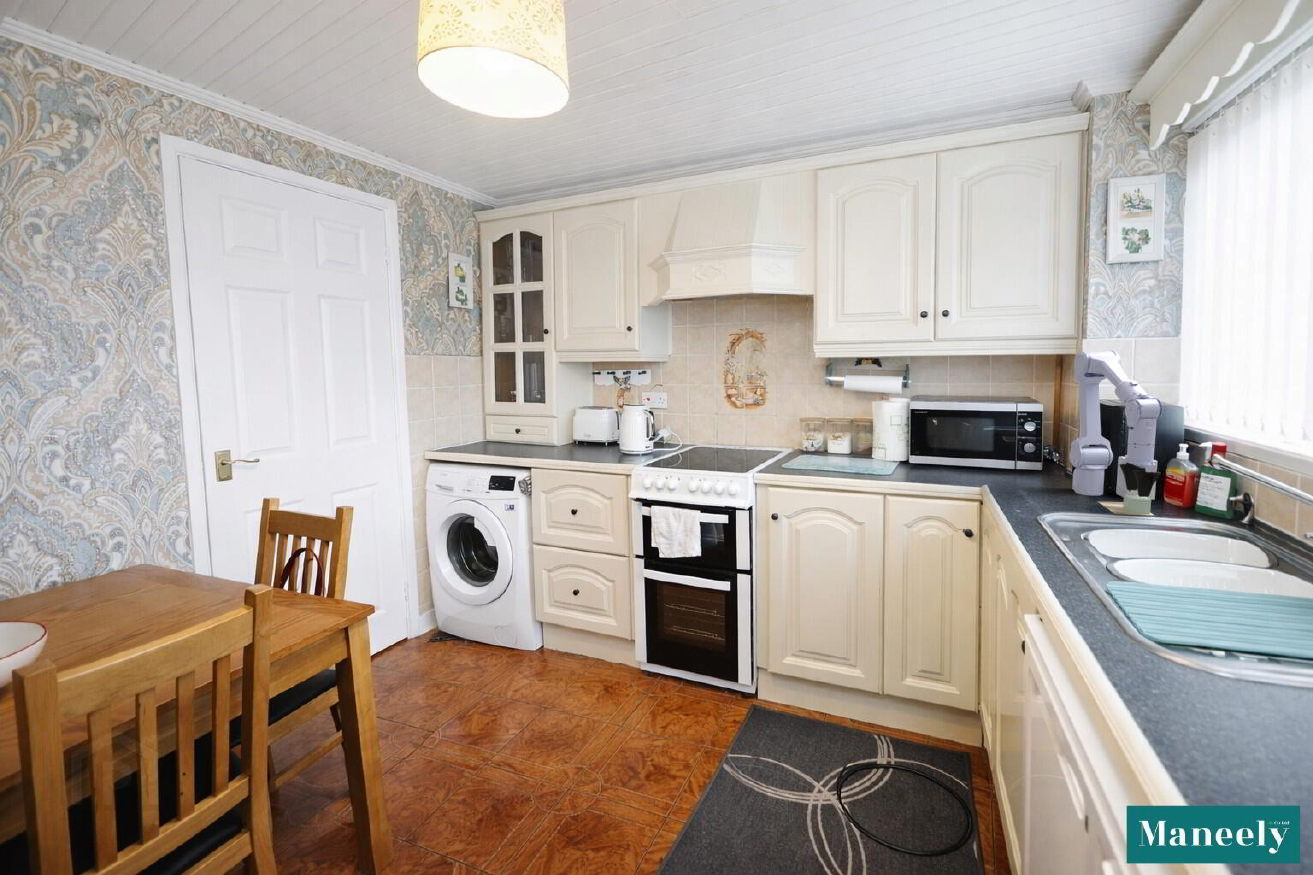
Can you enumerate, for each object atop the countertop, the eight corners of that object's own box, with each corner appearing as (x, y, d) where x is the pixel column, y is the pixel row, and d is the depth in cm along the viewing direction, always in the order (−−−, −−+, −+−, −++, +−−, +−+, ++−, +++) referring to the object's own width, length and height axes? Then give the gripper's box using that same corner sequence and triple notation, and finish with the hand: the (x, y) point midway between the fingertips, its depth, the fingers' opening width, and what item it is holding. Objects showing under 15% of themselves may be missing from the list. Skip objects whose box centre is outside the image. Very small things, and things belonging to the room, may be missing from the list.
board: (1097, 505, 184) (1097, 501, 184) (1133, 506, 182) (1134, 502, 181) (1114, 518, 171) (1115, 513, 171) (1154, 519, 168) (1155, 515, 168)
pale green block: (1123, 509, 175) (1124, 494, 175) (1143, 509, 174) (1144, 495, 173) (1129, 513, 171) (1130, 498, 171) (1150, 514, 170) (1151, 499, 169)
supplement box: (1125, 502, 186) (1128, 460, 184) (1115, 496, 193) (1118, 456, 191) (1155, 503, 184) (1158, 460, 182) (1143, 497, 191) (1146, 456, 189)
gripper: (1113, 439, 178) (1110, 486, 180) (1134, 447, 164) (1131, 499, 166) (1143, 439, 176) (1139, 487, 178) (1167, 448, 162) (1163, 500, 164)
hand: (1137, 493), depth 172 cm, fingers open, 7 cm apart
